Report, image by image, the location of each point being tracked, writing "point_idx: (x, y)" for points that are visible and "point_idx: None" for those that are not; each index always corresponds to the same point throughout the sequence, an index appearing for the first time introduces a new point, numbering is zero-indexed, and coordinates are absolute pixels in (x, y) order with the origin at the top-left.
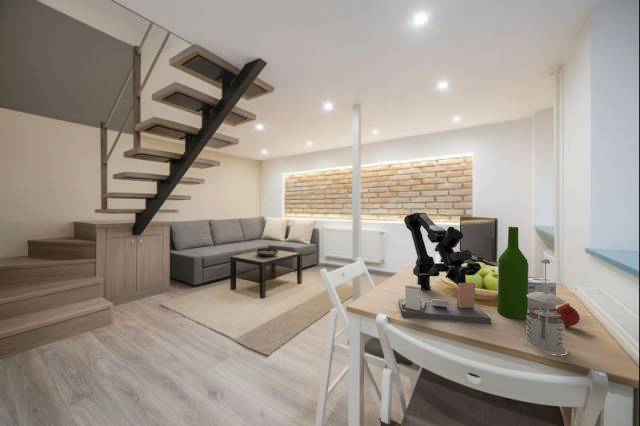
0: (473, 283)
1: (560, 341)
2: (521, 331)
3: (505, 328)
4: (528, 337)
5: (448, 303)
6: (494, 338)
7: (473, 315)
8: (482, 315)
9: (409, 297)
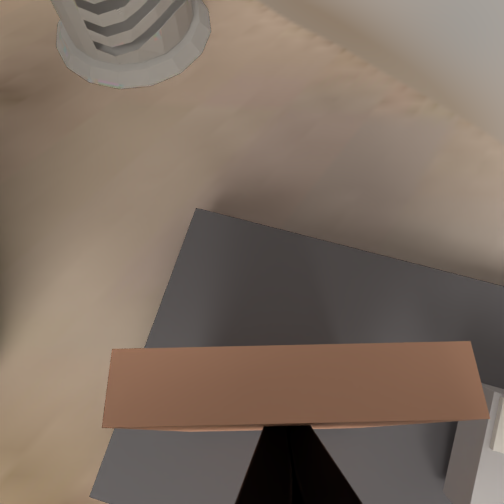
0: (141, 371)
1: None
2: (100, 138)
3: (159, 172)
4: (186, 10)
5: (483, 387)
6: (311, 88)
7: (296, 258)
8: (225, 253)
9: None
